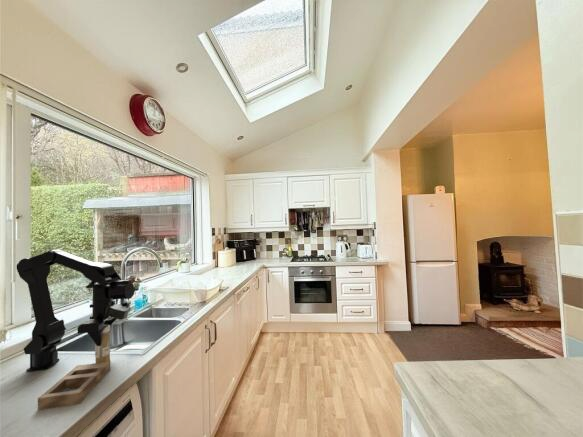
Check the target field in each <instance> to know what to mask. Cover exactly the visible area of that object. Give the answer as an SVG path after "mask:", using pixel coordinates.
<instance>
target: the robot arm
mask: <svg viewBox="0 0 583 437" xmlns="http://www.w3.org/2000/svg"><path fill="white" fill-rule="evenodd" d="M56 264H57V265H60V266H63V267H65V268H67V269H70V270H73V271H76V272H79V273H81V274H82V275H83V277H84V278H86V279H87V280H89V281H90V283H88V284H87V285H86V286H85V288H86V289H92V297H91V298H92V303H91V304H89V308H90V309H91V308H92V314H91V315H90V316H89V319H88V320H86V321H84V322H82V323H80V324H79V325H78V326H77V334H88V336H89V337H90V338H91V340H92V341H93V342H94V345H95V344H96V345H97V346H100V345H101V342H102V335H103V330H104V329H105V328H106V327H107V326H104V325H110V332H111V331H112V326H113V325H114V323H115V322H117V320H121V321H122V320H124V319H125V318H127V317H128V315H129V313H130V311H131V305H130V302H127V301H124V302H122V304H121V303H120V304H116V300H130V299H132V298H133V297H134V295H135V292H136V287H135V286H134V283H132V280H131V279H125V280H123V279H122V278H121V276H120V275H119V274H118V272H117V271H116V269H115V266H114V265H112V264H111V263H106V262H99V261H98V262H96V261H90V260H88V259H85V258H83V257H80V256H77V255H74V254H71V253H69V252H66V251H64V250H63V249H52V250H48V251H45V252H44V253H40V254H38V255H35V256H31V257H25V258H22V259H21V260H19V261H18V262H17V264H16V271H17V273H18V276H19V278H20V279H21V280H23V281H24V282H25V283H26V284H27V286H28V287H27V288H28V291H29V296H30V300H31V305H32V311H33V314H34V320H35V324H34V327H33V329H32V332H31V340H30V341H29V342H28V343H27V345H25V346H24V347H23V351H24V354H25V355H29V367H28V368H26V370H25V371H26V372H33V371H41V370H48V369H49V368H51V367H52V366H53V365H55V364H56V363H58V362H59V361H60V358H59V355H58V354H59V350H58V349H57V345H58V344H60V343H62V342H61V341H62V338H64V336H65V333H66V330H67V328H66V326H65V320H64V319H63V318H62V319H60V320H59V319H58V318H57V317H56V316H55V312H54V306H53V304H52V303H53V302H52V299H51V298H52V297H51V293H50V290H49V285H48V277H49V274H50V272H51V266H53V265H56Z"/></svg>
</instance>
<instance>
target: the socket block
mask: <svg viewBox="0 0 583 437" xmlns="http://www.w3.org/2000/svg"><path fill="white" fill-rule="evenodd" d="M110 372H111V361H110V362H102V363H96V362H95V363H87V364H86V363H85V364H79V365H76V366H74V367H73V368H72V369H71V370H70V371H69V372H68V373H67V374H65V375H63V377H62V378H60V379H59V380H58V381H57V382H56V383H55V384H52V386H51V387H50V388H48V389H47V390H45V392H43V394H41V395H40V396H39V397H37V411H39V410H45V409H52V408H59V407H60V408H61V407H67V406H74V405H78V404H79V405H80V404H81V403H82V402H83V401H84V399H86V397H88V395H89V394H90V393H91V392H92V391H93V390H94V389H95V388H96V387H97V386H98V385H99V384H100V383H101V381H102V380H103V379H104V378H105V377H106V376H107V375H108V374H109V373H110ZM71 389H72V390H71ZM73 389H75V390H73ZM65 390H67V391H65ZM68 390H69V391H68Z"/></svg>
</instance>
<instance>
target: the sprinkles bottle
mask: <svg viewBox="0 0 583 437" xmlns="http://www.w3.org/2000/svg"><path fill="white" fill-rule="evenodd" d="M104 326H107V327H106V328H105V329H104V330H103V335H102V342H101V345H100V346H97V345H96V344H95V343H94V357H95V363H102V362H110V363H111V355H110V354H111V334H110V333H111V331H110V325H104Z"/></svg>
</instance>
